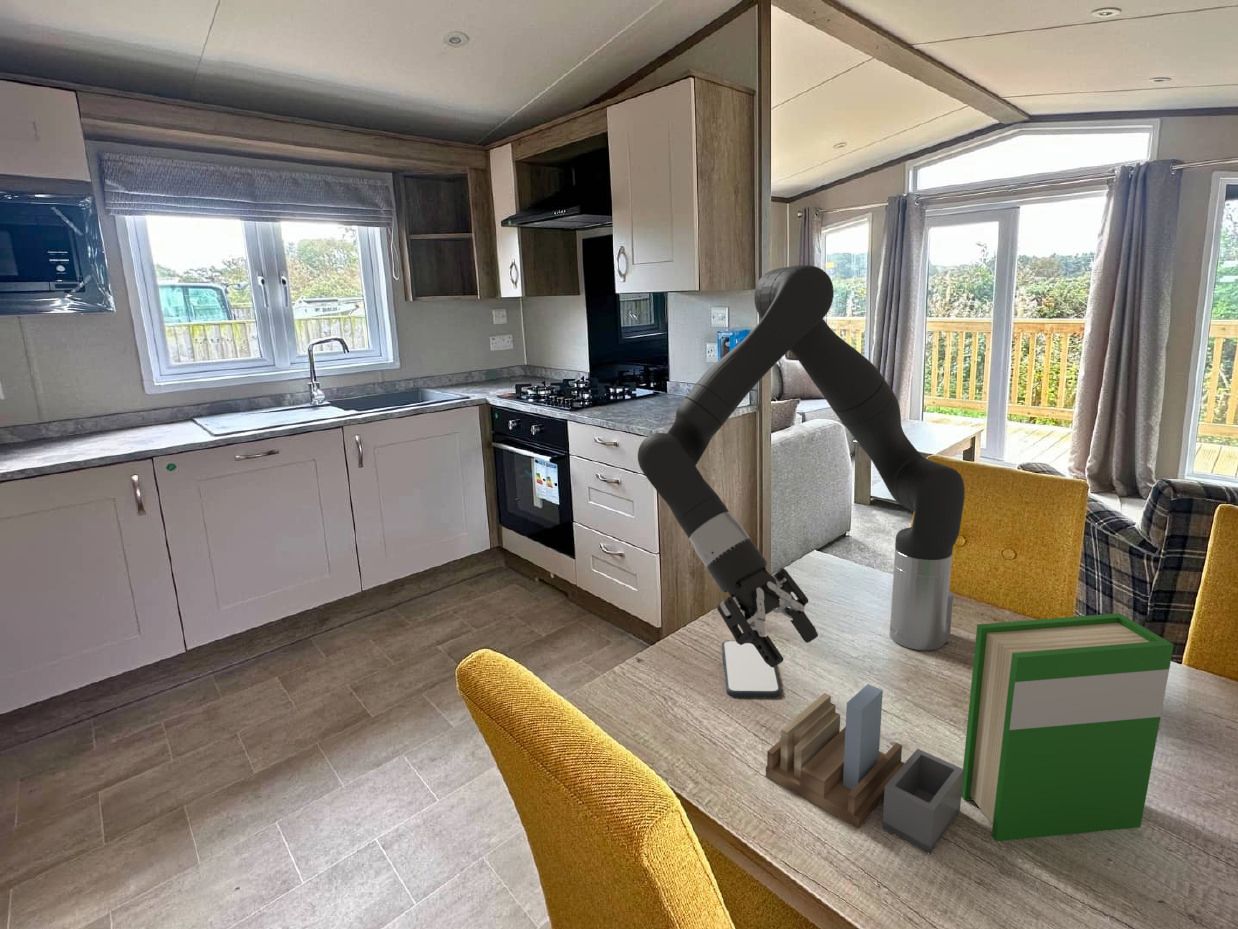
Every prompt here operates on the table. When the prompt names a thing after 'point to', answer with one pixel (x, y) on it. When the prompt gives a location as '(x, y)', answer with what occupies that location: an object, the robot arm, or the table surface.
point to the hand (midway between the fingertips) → (796, 651)
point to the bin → (922, 800)
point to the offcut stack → (808, 734)
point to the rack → (837, 780)
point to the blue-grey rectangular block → (862, 735)
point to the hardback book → (1063, 724)
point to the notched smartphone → (748, 672)
